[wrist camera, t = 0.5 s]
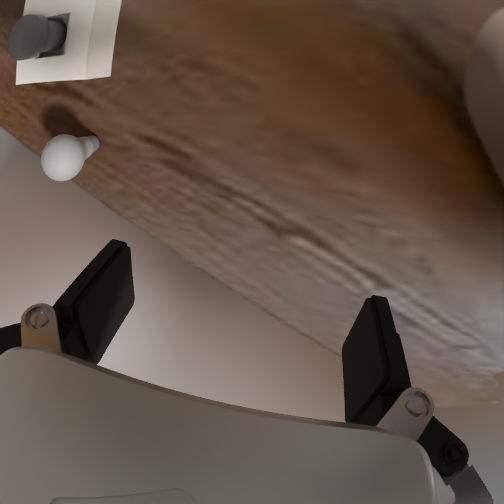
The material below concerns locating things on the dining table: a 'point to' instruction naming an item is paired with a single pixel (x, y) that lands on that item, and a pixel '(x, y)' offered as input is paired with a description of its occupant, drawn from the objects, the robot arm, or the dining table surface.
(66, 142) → the lightbulb
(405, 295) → the dining table surface
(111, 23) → the box
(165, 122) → the dining table surface
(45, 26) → the knob
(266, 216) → the dining table surface
